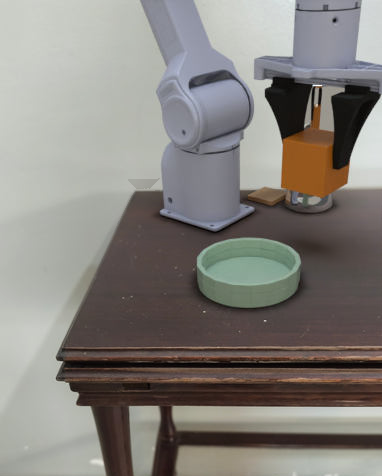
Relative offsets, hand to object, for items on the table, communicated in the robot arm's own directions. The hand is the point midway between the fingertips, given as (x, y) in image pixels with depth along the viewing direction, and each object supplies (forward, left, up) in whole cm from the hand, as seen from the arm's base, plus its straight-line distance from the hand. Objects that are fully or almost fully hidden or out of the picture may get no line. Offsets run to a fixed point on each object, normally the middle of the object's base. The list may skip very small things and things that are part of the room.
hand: (315, 161), depth 58 cm
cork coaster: (-12, +10, -10) cm, 19 cm away
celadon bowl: (-1, -10, -10) cm, 14 cm away
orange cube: (0, 0, -2) cm, 2 cm away
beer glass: (-7, +11, -10) cm, 16 cm away
